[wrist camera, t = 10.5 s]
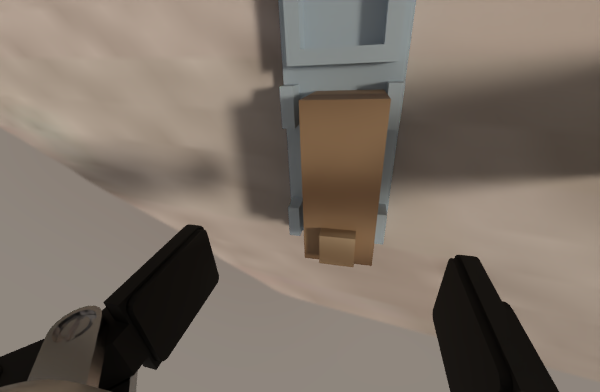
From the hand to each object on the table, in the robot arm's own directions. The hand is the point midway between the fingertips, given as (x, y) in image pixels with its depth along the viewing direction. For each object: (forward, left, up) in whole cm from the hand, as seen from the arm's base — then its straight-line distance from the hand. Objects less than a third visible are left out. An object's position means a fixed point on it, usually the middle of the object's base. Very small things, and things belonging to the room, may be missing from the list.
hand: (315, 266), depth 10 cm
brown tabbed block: (0, 0, -13) cm, 13 cm away
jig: (-3, 0, -14) cm, 15 cm away
